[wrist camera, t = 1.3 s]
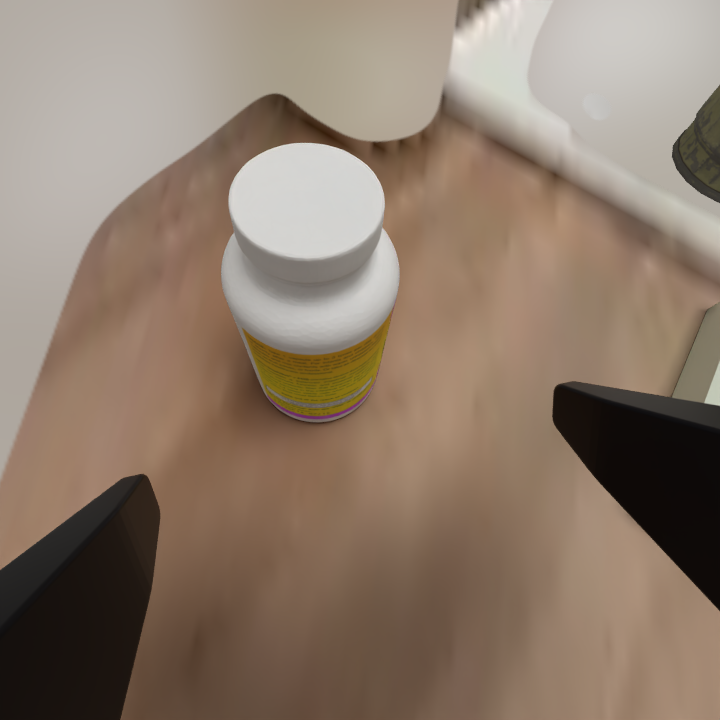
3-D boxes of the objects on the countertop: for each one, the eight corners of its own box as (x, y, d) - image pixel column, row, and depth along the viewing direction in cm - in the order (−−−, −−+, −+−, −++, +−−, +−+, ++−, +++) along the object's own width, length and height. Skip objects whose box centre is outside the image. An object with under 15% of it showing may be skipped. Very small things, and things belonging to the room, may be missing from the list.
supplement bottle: (395, 400, 24) (458, 251, 12) (281, 444, 22) (229, 324, 11) (350, 304, 26) (366, 102, 15) (244, 338, 25) (168, 146, 13)
